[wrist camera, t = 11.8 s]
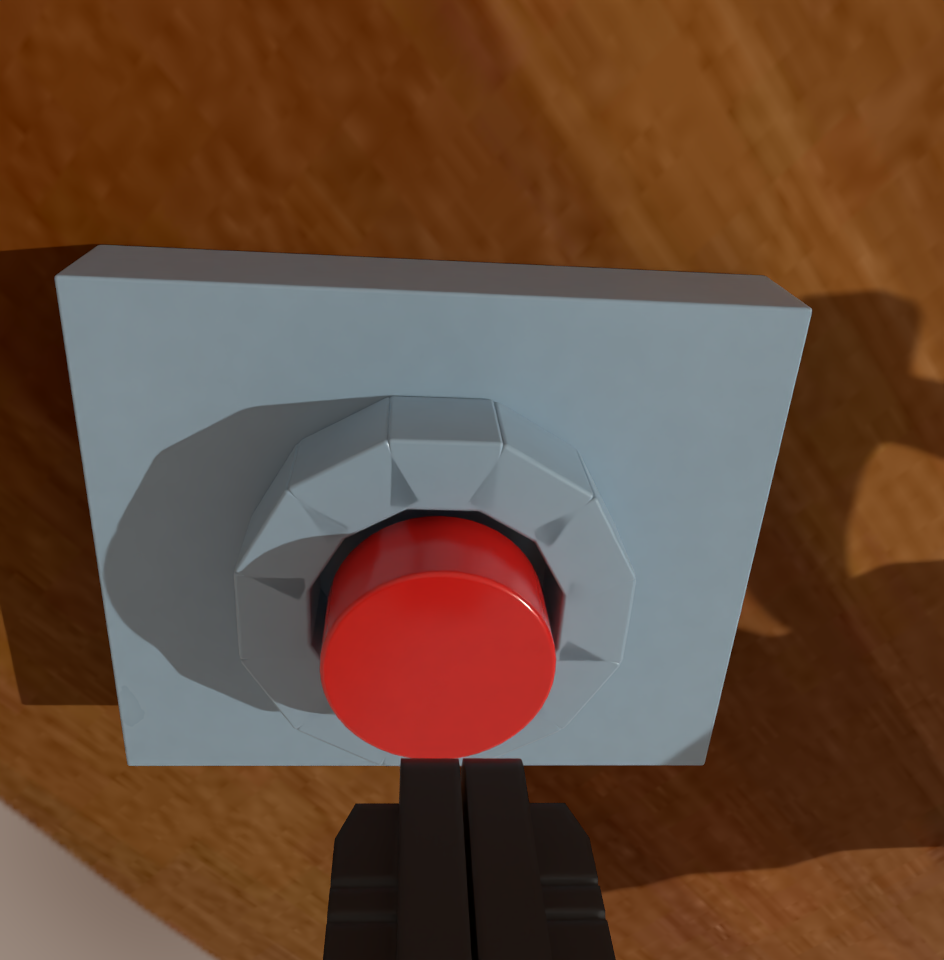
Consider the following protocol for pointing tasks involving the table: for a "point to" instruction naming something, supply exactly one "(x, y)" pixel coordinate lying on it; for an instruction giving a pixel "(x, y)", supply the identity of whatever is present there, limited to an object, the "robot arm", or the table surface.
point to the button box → (419, 479)
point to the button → (436, 639)
